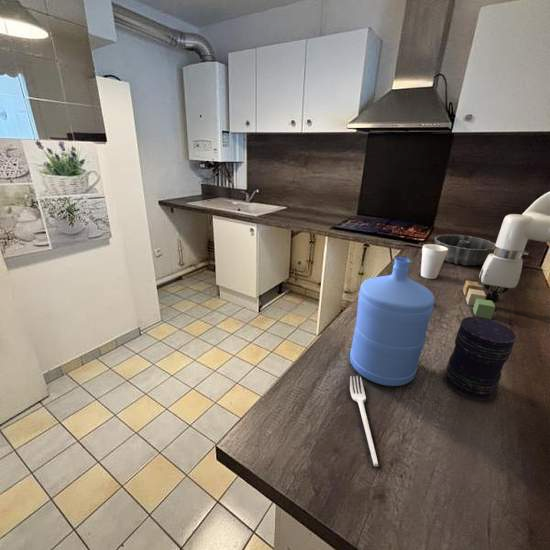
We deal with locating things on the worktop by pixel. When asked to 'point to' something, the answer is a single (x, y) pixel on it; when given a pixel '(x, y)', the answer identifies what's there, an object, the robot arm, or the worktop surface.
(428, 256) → the foam cup
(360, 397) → the fork
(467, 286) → the maple block
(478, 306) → the sage block
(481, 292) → the beige block
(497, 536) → the worktop surface
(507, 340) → the dark blue cylinder
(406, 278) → the water jug
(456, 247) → the bundt pan
